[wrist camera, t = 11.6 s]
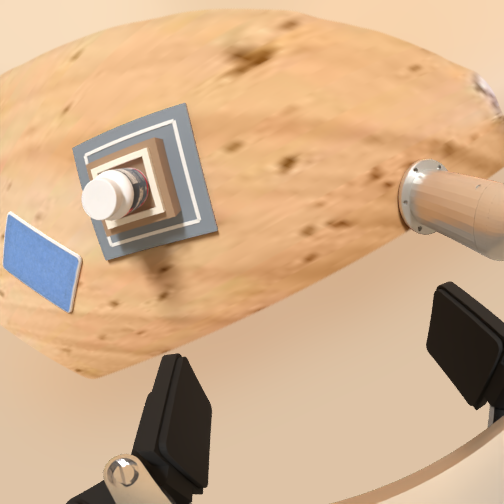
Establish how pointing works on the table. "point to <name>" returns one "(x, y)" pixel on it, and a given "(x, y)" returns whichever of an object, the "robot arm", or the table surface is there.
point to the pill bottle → (115, 193)
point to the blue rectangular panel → (41, 262)
